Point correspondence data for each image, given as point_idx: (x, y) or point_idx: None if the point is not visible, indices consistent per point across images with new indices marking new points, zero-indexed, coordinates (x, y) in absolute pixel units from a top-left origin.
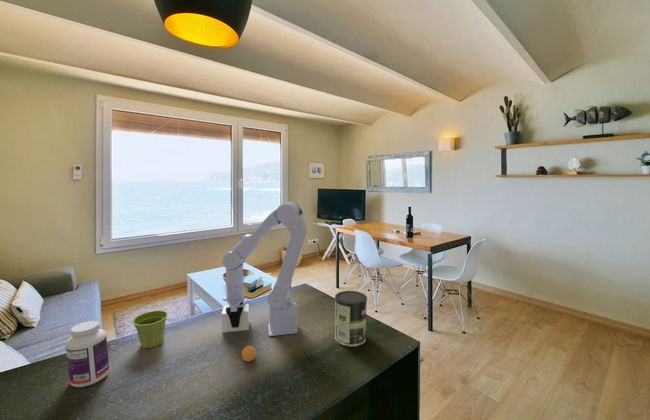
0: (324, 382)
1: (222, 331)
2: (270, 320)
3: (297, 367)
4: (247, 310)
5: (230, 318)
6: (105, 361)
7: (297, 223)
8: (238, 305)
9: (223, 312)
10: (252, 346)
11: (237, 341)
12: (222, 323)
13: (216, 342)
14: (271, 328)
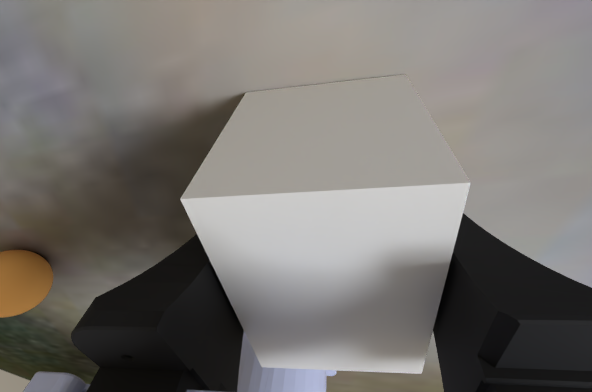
0: (48, 371)
1: (243, 98)
2: (243, 375)
3: (73, 347)
4: (282, 364)
5: (187, 248)
6: None
7: None
8: (418, 321)
9: (229, 212)
10: (10, 315)
11: (154, 204)
12: (223, 135)
13: (104, 80)
14: (245, 337)
